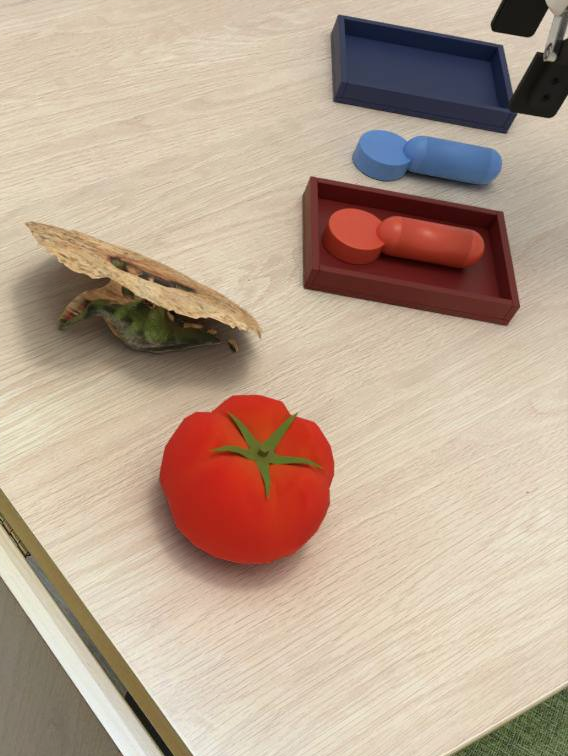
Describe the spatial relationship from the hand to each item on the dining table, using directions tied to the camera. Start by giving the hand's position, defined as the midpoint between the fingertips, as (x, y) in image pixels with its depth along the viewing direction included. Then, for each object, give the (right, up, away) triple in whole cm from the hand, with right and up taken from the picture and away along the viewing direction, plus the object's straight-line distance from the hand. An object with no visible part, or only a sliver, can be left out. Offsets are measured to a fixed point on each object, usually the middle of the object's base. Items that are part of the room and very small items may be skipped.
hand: (519, 71), depth 70 cm
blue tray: (+2, +10, +24) cm, 26 cm away
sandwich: (-27, -17, +3) cm, 32 cm away
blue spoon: (0, -1, +17) cm, 17 cm away
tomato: (-21, -31, -5) cm, 38 cm away
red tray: (-5, -10, +10) cm, 15 cm away
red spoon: (-5, -10, +10) cm, 15 cm away
